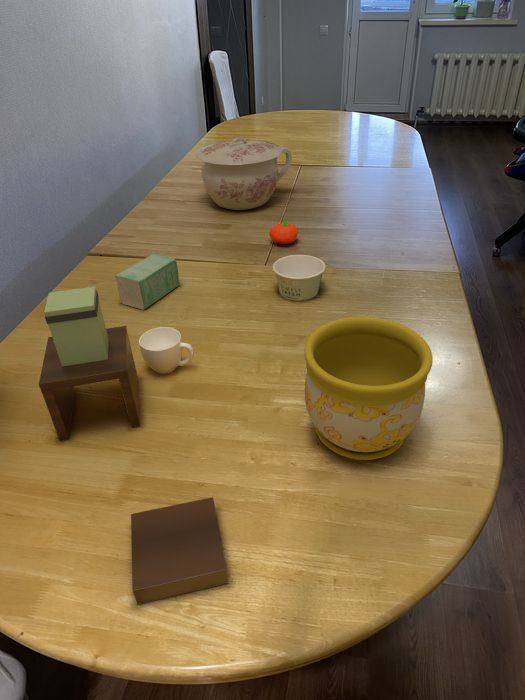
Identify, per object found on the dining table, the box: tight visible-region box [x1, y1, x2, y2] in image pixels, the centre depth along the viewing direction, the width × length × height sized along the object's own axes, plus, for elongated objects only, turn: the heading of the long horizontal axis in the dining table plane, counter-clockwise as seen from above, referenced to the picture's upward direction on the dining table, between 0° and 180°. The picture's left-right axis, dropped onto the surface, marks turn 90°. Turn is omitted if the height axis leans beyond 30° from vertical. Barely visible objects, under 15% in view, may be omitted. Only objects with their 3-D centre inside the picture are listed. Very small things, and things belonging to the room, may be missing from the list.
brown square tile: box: [130, 496, 229, 605], centre depth 66 cm, size 11×11×3 cm
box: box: [115, 253, 180, 311], centre depth 121 cm, size 7×14×8 cm, turn 150°
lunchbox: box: [43, 286, 109, 367], centre depth 80 cm, size 6×7×10 cm
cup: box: [138, 326, 195, 375], centre depth 97 cm, size 8×10×7 cm
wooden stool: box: [38, 325, 141, 442], centre depth 87 cm, size 13×13×12 cm
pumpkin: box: [268, 220, 299, 245], centre depth 142 cm, size 7×8×6 cm
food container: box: [272, 254, 326, 302], centre depth 120 cm, size 12×12×6 cm
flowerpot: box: [303, 316, 434, 461], centre depth 78 cm, size 18×18×16 cm
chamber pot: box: [194, 137, 293, 211], centre depth 165 cm, size 28×28×21 cm
